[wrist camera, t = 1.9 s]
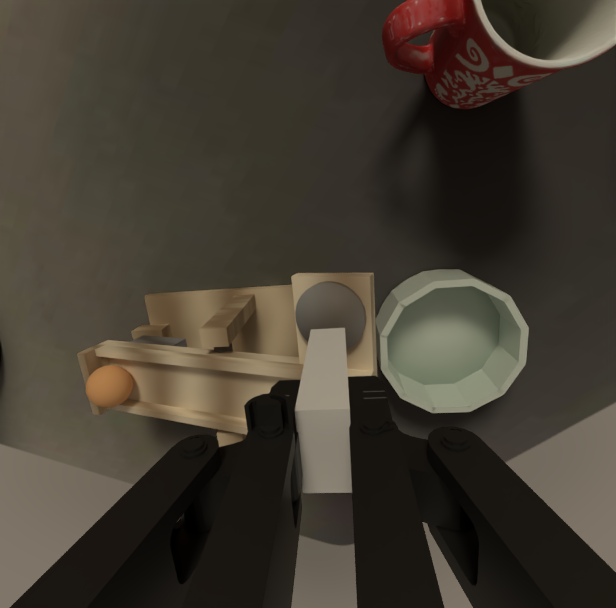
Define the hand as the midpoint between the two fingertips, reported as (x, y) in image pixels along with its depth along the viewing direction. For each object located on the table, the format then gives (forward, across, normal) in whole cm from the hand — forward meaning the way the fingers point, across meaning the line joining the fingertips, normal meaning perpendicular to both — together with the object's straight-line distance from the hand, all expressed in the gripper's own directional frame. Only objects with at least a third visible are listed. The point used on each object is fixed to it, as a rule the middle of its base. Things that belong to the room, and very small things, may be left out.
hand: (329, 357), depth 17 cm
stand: (+20, -11, -7) cm, 24 cm away
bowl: (+20, +10, -7) cm, 23 cm away
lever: (+14, -8, -4) cm, 16 cm away
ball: (+11, -19, -7) cm, 23 cm away
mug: (+20, +10, +16) cm, 28 cm away
